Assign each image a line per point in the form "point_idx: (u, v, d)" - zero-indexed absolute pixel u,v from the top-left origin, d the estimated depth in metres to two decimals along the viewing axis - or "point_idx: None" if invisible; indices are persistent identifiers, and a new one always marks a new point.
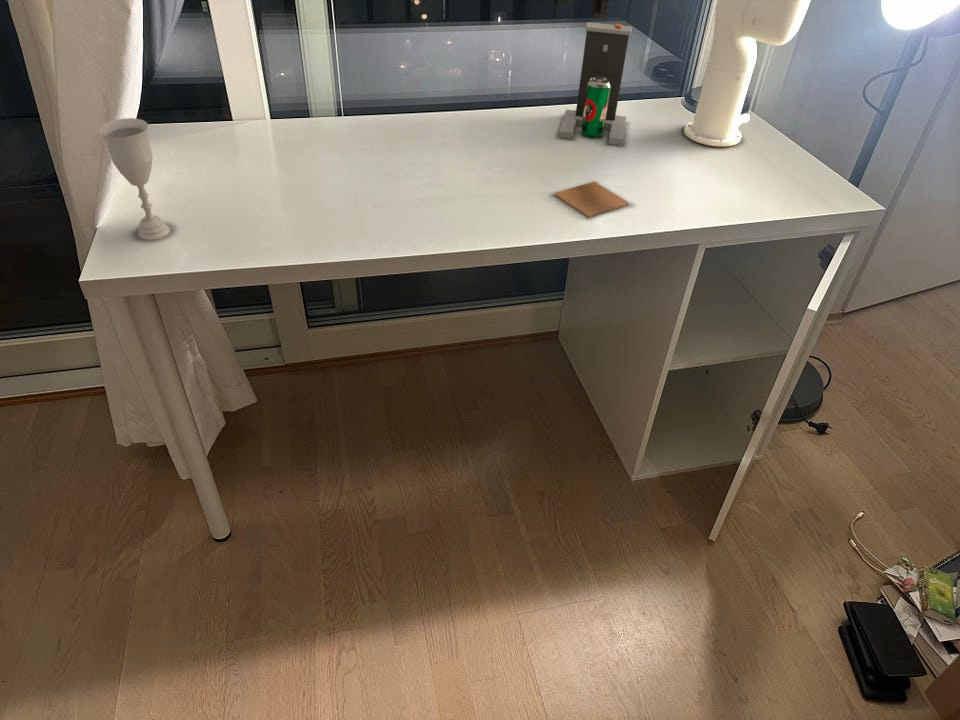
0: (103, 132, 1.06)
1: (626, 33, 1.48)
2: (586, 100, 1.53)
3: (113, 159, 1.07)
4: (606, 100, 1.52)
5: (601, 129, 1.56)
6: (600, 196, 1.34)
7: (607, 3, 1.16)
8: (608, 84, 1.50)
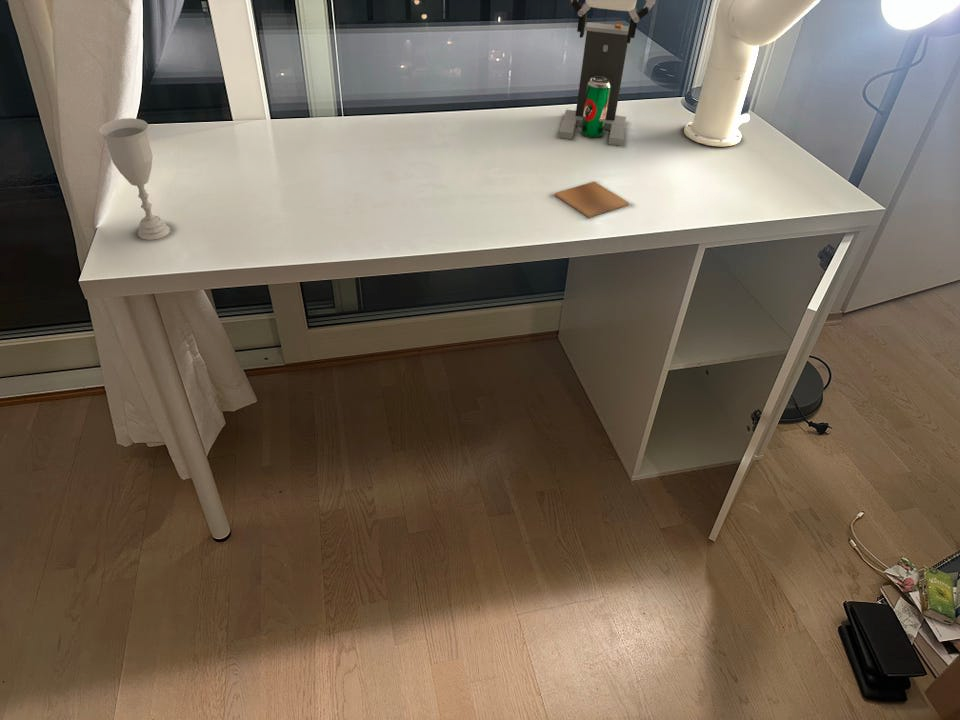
0: (103, 132, 1.06)
1: (626, 33, 1.48)
2: (586, 100, 1.53)
3: (113, 159, 1.07)
4: (606, 100, 1.52)
5: (601, 129, 1.56)
6: (600, 196, 1.34)
7: None
8: (608, 84, 1.50)
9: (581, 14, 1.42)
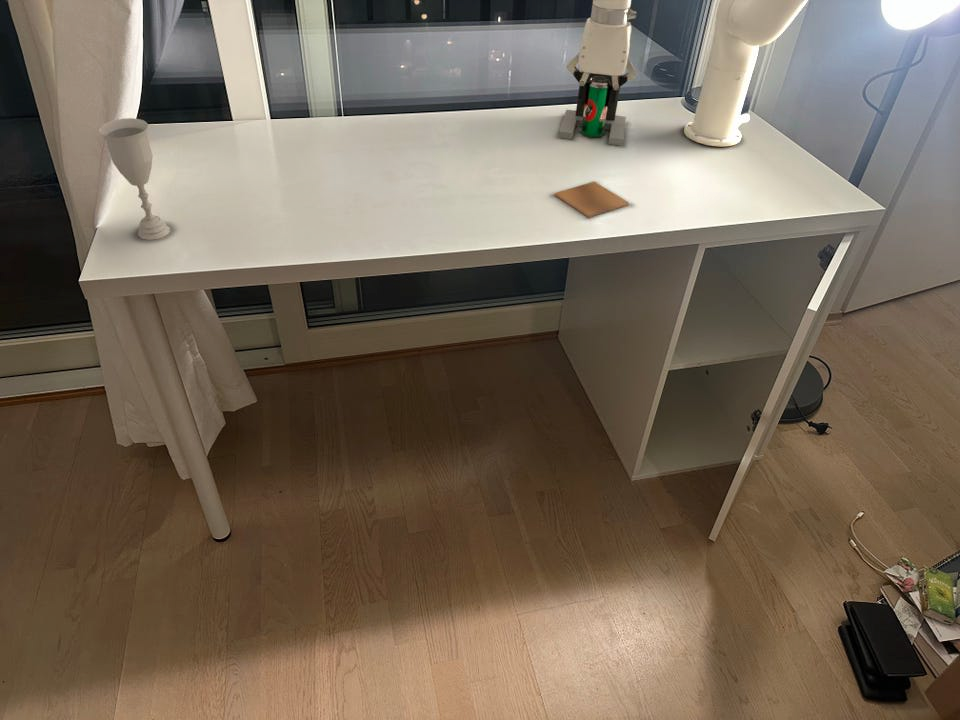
0: (103, 132, 1.06)
1: None
2: (586, 100, 1.53)
3: (113, 159, 1.07)
4: (606, 100, 1.52)
5: (601, 129, 1.56)
6: (600, 196, 1.34)
7: None
8: (608, 84, 1.50)
9: (582, 84, 1.51)
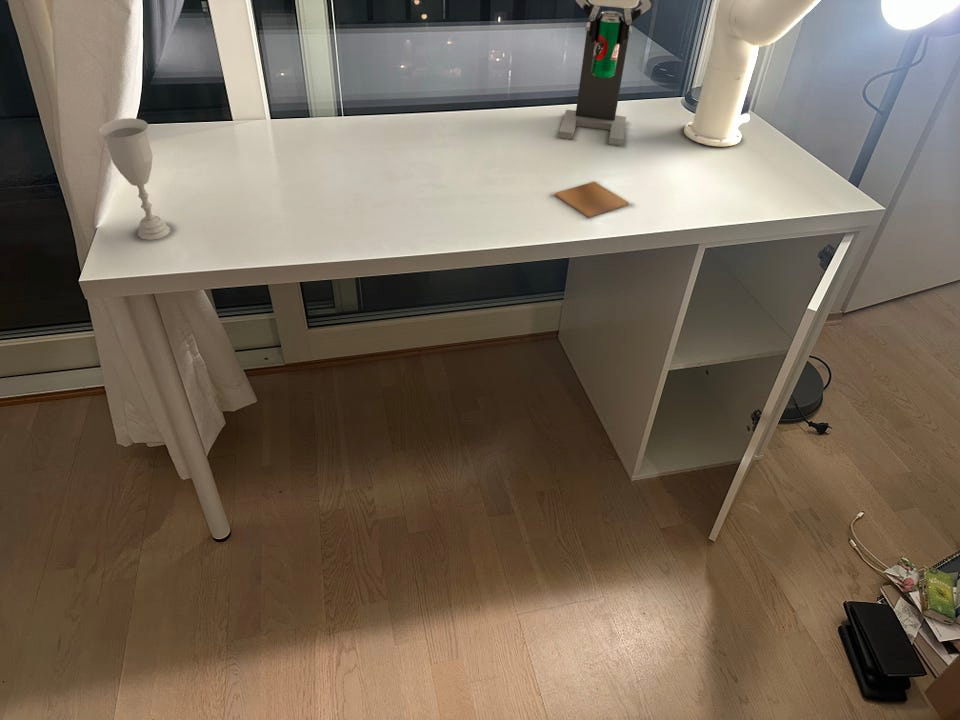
0: (103, 132, 1.06)
1: None
2: (597, 37, 1.43)
3: (113, 159, 1.07)
4: (618, 36, 1.41)
5: (613, 69, 1.45)
6: (600, 196, 1.34)
7: (628, 31, 1.42)
8: (620, 18, 1.40)
9: (592, 19, 1.41)
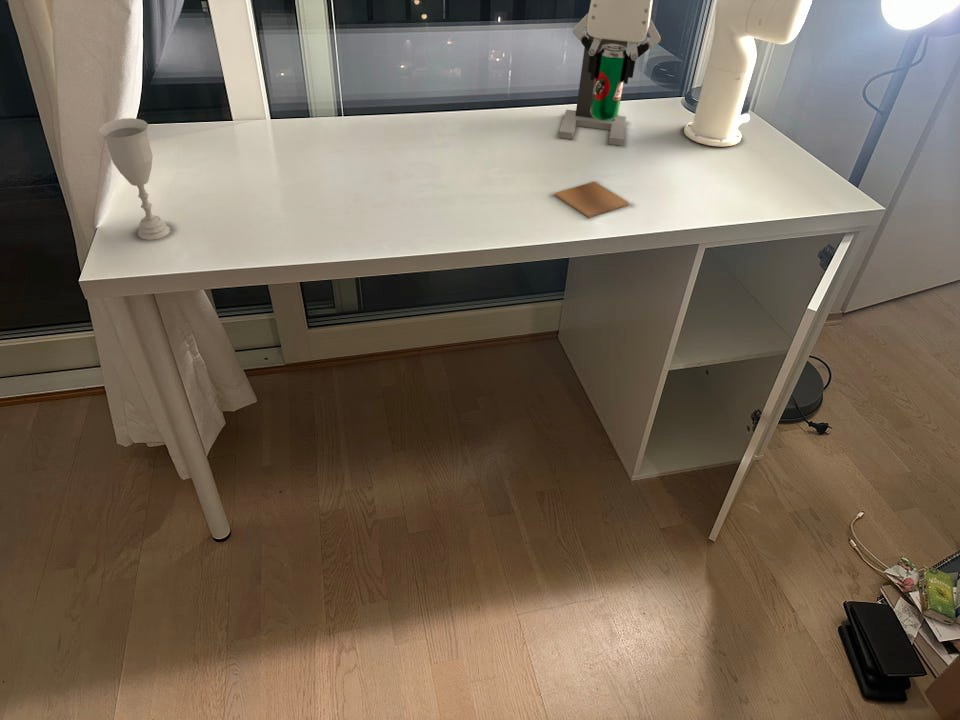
0: (103, 132, 1.06)
1: None
2: (597, 74, 1.22)
3: (113, 159, 1.07)
4: (622, 73, 1.21)
5: (615, 110, 1.25)
6: (600, 196, 1.34)
7: None
8: (625, 53, 1.20)
9: (592, 53, 1.20)
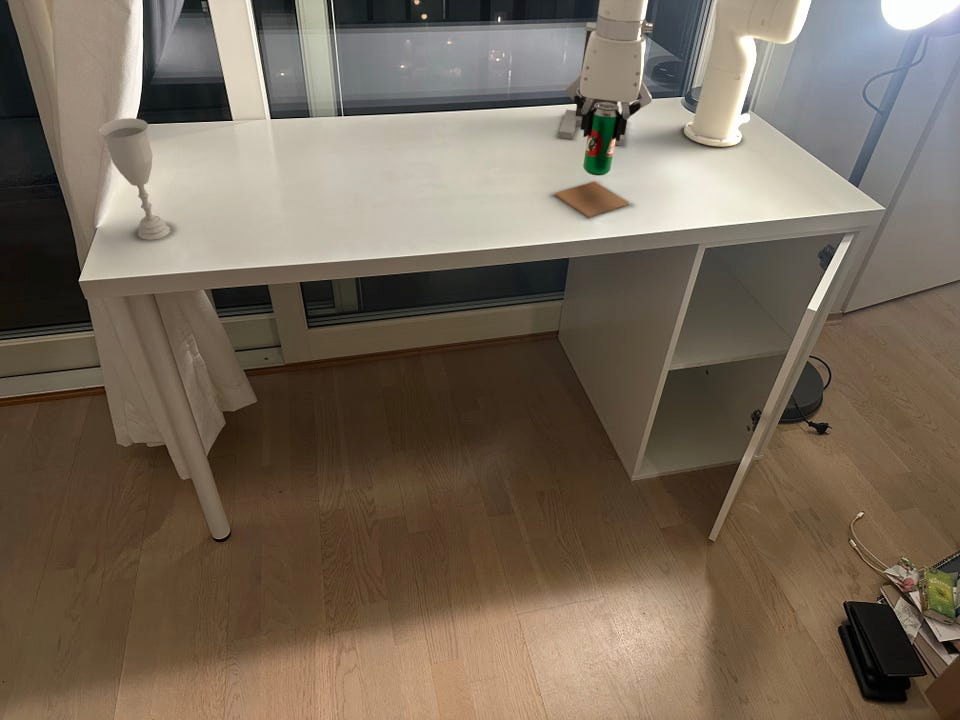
0: (103, 132, 1.06)
1: None
2: (590, 131, 1.25)
3: (113, 159, 1.07)
4: (614, 131, 1.23)
5: (608, 166, 1.28)
6: (600, 196, 1.34)
7: None
8: (617, 112, 1.22)
9: (585, 112, 1.23)
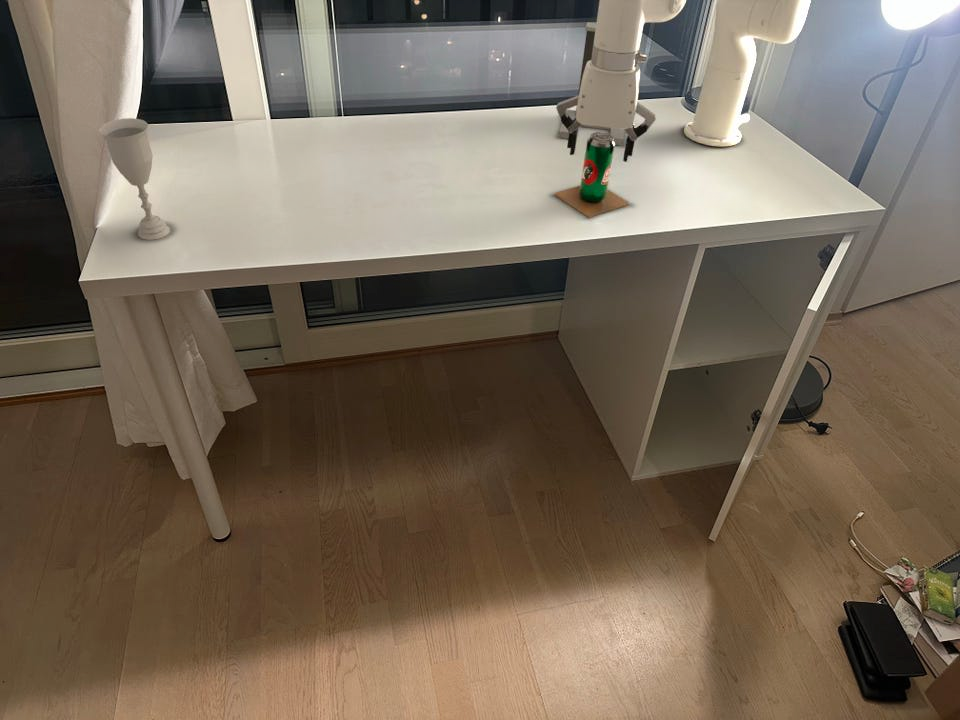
0: (103, 132, 1.06)
1: None
2: (585, 160, 1.28)
3: (113, 159, 1.07)
4: (609, 160, 1.27)
5: (603, 193, 1.31)
6: None
7: None
8: (612, 142, 1.25)
9: (571, 131, 1.25)
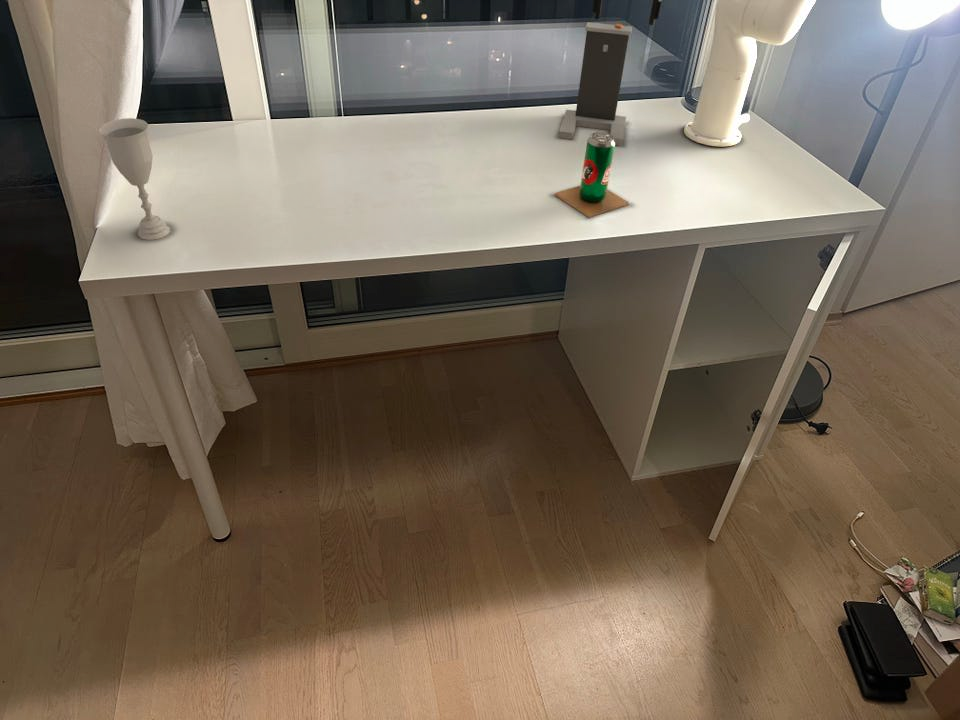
0: (103, 132, 1.06)
1: (626, 33, 1.48)
2: (585, 160, 1.28)
3: (113, 159, 1.07)
4: (609, 160, 1.27)
5: (603, 193, 1.31)
6: None
7: None
8: (612, 142, 1.25)
9: None
